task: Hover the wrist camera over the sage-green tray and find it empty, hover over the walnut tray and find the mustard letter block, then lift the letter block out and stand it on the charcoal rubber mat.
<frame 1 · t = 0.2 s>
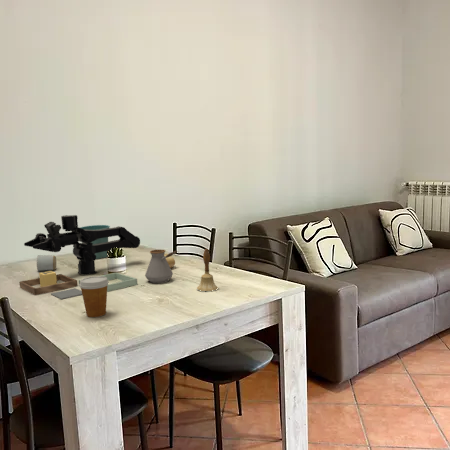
hand: (28, 245, 204), 17 cm above the table, tool horizontal, fingers open, 9 cm apart
sage tray: (108, 285, 201), on the table
disposable coffee cup: (96, 314, 164), on the table
rubber mat: (68, 294, 190), on the table
grey cylinder: (47, 270, 234), on the table
walnut tray: (48, 286, 202), on the table
hand bell: (207, 289, 191), on the table
coffee pot: (165, 283, 202), on the table
flower pot: (96, 257, 260), on the table
onion: (166, 268, 228), on the table
letter block: (48, 287, 202), resting in walnut tray
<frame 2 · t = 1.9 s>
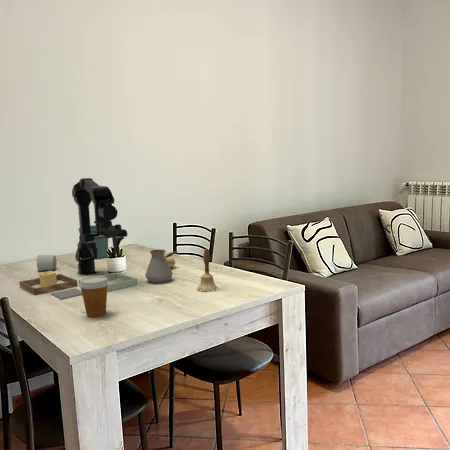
hand: (105, 256, 199), 12 cm above the table, tool pointing down, fingers open, 9 cm apart
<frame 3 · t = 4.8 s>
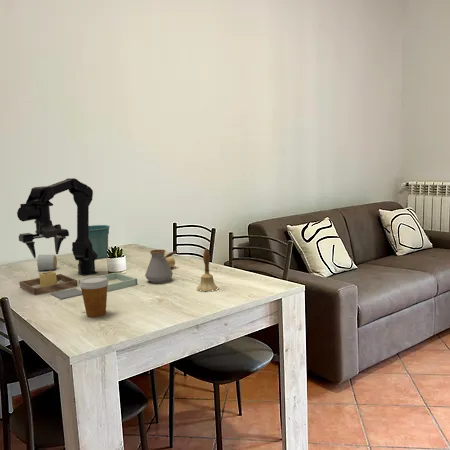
hand: (46, 256, 200), 13 cm above the table, tool pointing down, fingers open, 9 cm apart
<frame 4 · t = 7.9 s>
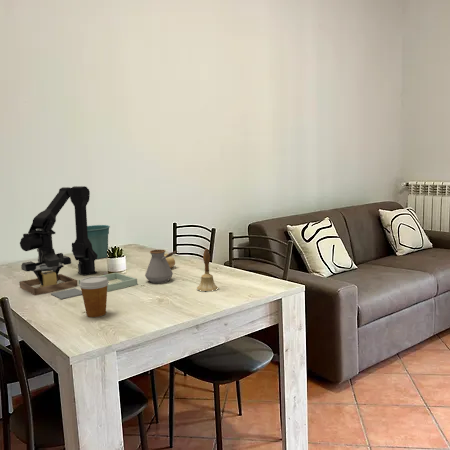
hand: (48, 283, 202), 1 cm above the table, tool pointing down, fingers closed on letter block, 5 cm apart
letter block: (48, 286, 202), resting in walnut tray, touching gripper
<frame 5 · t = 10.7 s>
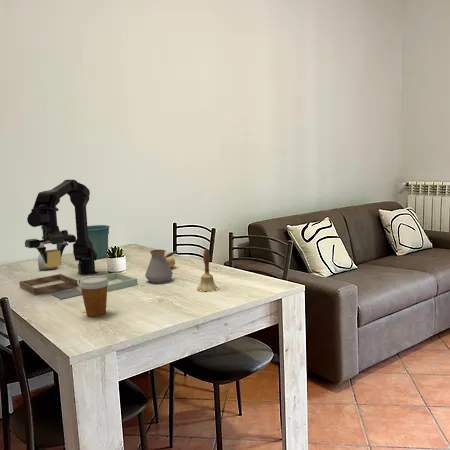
hand: (52, 262, 196), 11 cm above the table, tool pointing down, fingers closed on letter block, 5 cm apart
letter block: (52, 265, 196), point 10 cm above the table, touching gripper
when the fingers open (3 cm above the table, at t = 13.4 s): letter block drops 1 cm, resting on rubber mat.
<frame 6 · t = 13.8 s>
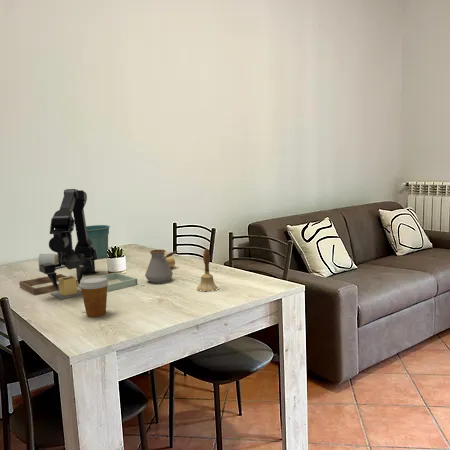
hand: (67, 286, 190), 3 cm above the table, tool pointing down, fingers open, 9 cm apart
letter block: (68, 293, 190), resting on rubber mat
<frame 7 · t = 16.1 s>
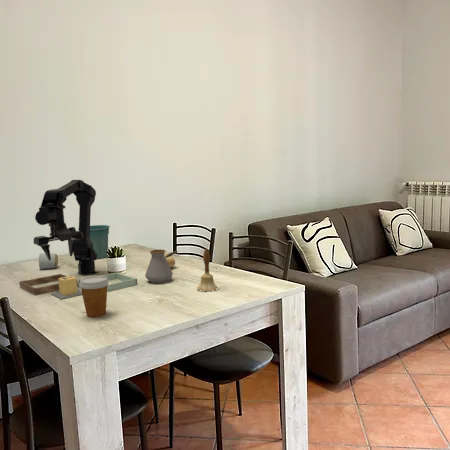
hand: (60, 258, 202), 12 cm above the table, tool pointing down, fingers open, 9 cm apart
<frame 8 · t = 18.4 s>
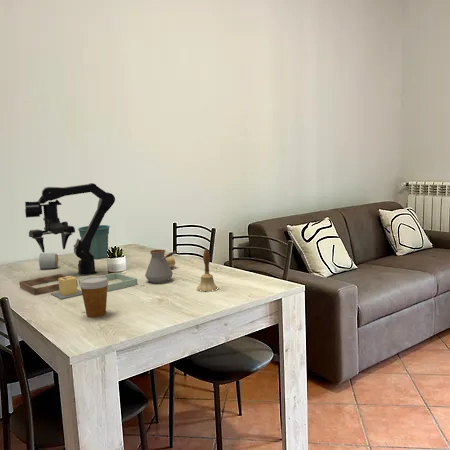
hand: (53, 250, 217), 12 cm above the table, tool pointing down, fingers open, 9 cm apart
at the end: letter block inside the target area on the rubber mat (0.0 cm from its centre), point 0.4 cm above the rubber mat's base; letter block tilted 0°; the gripper is holding nothing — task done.
